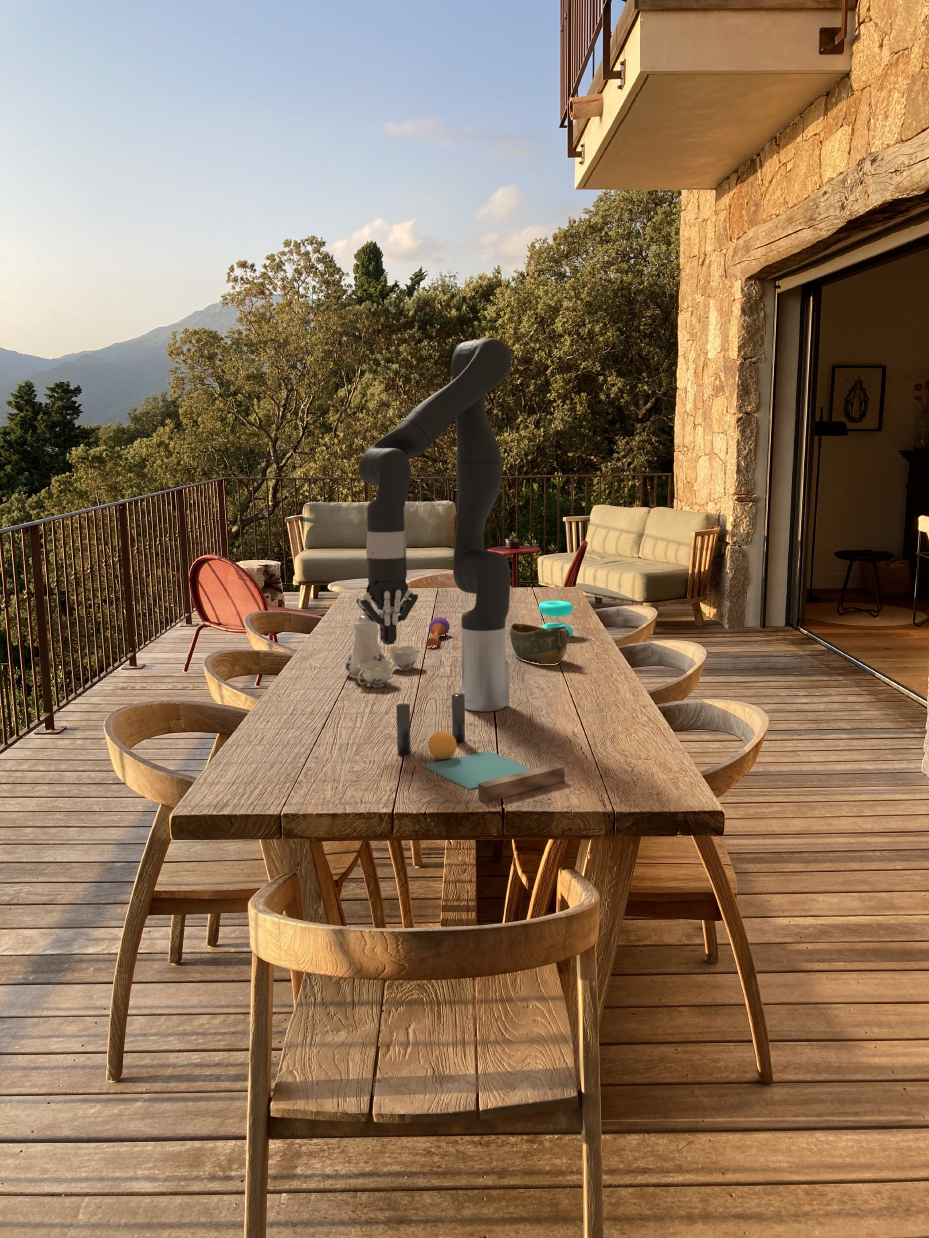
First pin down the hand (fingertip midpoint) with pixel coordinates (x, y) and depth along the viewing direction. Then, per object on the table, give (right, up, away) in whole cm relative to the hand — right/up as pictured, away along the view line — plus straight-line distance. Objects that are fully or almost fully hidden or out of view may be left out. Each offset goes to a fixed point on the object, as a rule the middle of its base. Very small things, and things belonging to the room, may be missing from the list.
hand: (388, 643), depth 182 cm
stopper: (+24, -23, -31) cm, 45 cm away
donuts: (+41, -1, +92) cm, 101 cm away
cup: (+34, -6, +61) cm, 70 cm away
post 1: (+4, -19, -12) cm, 23 cm away
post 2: (+14, -18, -6) cm, 23 cm away
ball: (+11, -18, -16) cm, 26 cm away
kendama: (+7, -2, +87) cm, 87 cm away
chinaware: (-6, -9, +46) cm, 47 cm away
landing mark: (+17, -21, -21) cm, 34 cm away
